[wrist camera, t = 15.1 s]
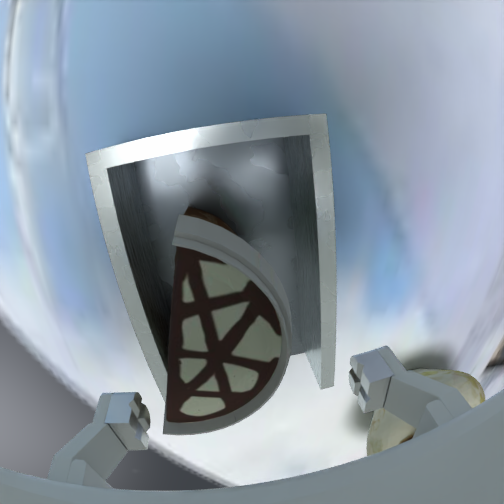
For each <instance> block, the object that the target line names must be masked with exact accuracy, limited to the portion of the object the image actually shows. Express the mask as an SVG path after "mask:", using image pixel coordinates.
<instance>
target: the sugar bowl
mask: <svg viewBox="0 0 504 504" xmlns="http://www.w3.org/2000/svg"><path fill="white" fill-rule="evenodd" d="M412 371H413V372H416V373H418V374H421V375H423V376H426V377H428V378H431V379H433V380H436V381H438V382H441V383H443V384H446V385H448V386H451V387H454V388H456V389H458V391H459V392H460V393H461V394H462V396H463V397H464V398H465V400H466V401H467V402H468V403H469V405H470V406H471V407H472V408H474V407H476V406H477V405H479V404H481V403H482V402H484V401H485V394H484V391H483V389H482V387H481V385H480V383H479V382H478V381H477V380H476V379H475V378H474V377H472V376H471V375H469V374H467V373H464V372H460V371H454V370H436V369H422V368H420V369H414V370H412ZM415 431H416V428H414V427H413V426H411V425H409V424H408V423H406V422H404V421H403V420H401V419H400V418H398V417H396V416H395V415H393V414H392V413H390V412H388V411H387V410H385V409H384V408H381V409H377V410H374V414H373V417H372V421H371V424H370V427H369V433H368V438H367V456H369V455H372V454H375V453H378V452H381V451H383V450H386V449H388V448H391V447H394V446H396V445H399V444H401V443H403V442H406V441H408V440H410V439H412V438H413V436H414V434H415Z"/></svg>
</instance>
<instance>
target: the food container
mask: <svg viewBox="0 0 504 504" xmlns="http://www.w3.org/2000/svg"><path fill="white" fill-rule="evenodd" d="M172 245H175V246H176V254H175V259H174V260H175V270H174V276H173V278H174V281H173V291H172V303H171V316H170V333H169V344H168V369H167V393H166V403H165V414H164V426H163V434H167V435H195V434H202V433H208V432H212V431H216V430H220V429H223V428H226V427H228V426H231V425H234V424H236V423H238V422H240V421H242V420H244V419H245V418H247V417H249V416H250V415H252V414H253V413H254V412H256V411H257V410H258V409H260V408H261V407H262V406H263V405H264V404H265V403H266V402H267V401H268V400H269V399H270V398H271V397H272V395H273V394H274V393H275V391H276V390H277V388H278V387H279V385H280V383H281V381H282V379H283V376H284V374H285V371H286V368H287V365H288V362H289V358H290V354H291V348H292V323H291V312H290V307H289V301H288V298H287V295H286V293H285V290H284V288H283V285H282V283H281V281H280V279H279V278H278V276H277V275H276V273H275V271H274V270H273V268H272V267H271V266H270V264H269V263H268V262H267V261H266V260H265V259H264V258H263V257H262V255H261V254H260V253H259V252H258V251H257V250H255V249H254V248H253V247H252V246H250V245H249V244H248V243H247V242H246V241H244V240H243V239H242V238H240V237H238V235H237V234H236V232H235V231H234V230H233V229H232V228H231V227H230V226H229V225H228V224H227V223H225V222H224V221H223V220H222V219H220V218H218V217H217V216H215V215H213V214H211V213H209V212H206V211H204V210H201V209H197V208H193V207H187V209H186V211H185V213H184V215H181V214H179V217H178V220H177V224H176V228H175V233H174V238H173V241H172Z"/></svg>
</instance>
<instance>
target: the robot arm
mask: <svg viewBox="0 0 504 504" xmlns="http://www.w3.org/2000/svg"><path fill="white" fill-rule="evenodd" d="M350 365H351V366H352V369H351V370H350V371H349V383H350V386H351V389H352V391H353V393H354V394H355V395H357V396H358V403H359V405H360V407H361V409H362V411H363V413H368V412H371V411H374V410H377V409H381V408H384V409H385V410H387V411H388V412H390V413H392V414H393V415H395V416H396V417H398V418H400V419H401V420H403V421H404V422H406V423H408V424H409V425H411V426H413V427H414V428H416V431H415V434H414V436H413V438H412V439H410V440H408V441H406V442H403V443H401V444H399V445H396V446H394V447H391V448H388V449H386V450H383V451H381V452H378V453H375V454H372V455H369V456H367V457H364V458H361V459H358V460H355V461H351V462H348V463H345V464H342V465H338V466H335V467H331V468H328V469H324V470H320V471H316V472H312V473H308V474H304V475H300V476H295V477H290V478H285V479H280V480H275V481H270V482H264V483H258V484H251V485H244V486H236V487H227V488H217V489H205V490H186V491H140V490H122V489H113V488H112V487H111V486H110V485H109V484H108V483H107V482H106V480H107V479H108V477H109V476H110V474H111V473H112V472H113V470H114V469H115V468H116V467H117V465H118V464H119V462H120V461H121V460H122V458H123V457H124V456H125V455H126V453H127V452H128V451H127V450H147V448H148V439H149V436H148V434H147V433H146V431H147V430H148V429H149V428H150V414H149V411H148V409H147V407H146V405H144V404H142V403H141V401H142V398H141V396H140V394H139V393H138V392H123V393H102V394H101V396H100V399H99V402H98V405H97V409H96V412H95V415H94V419H93V423H89V424H88V425H87V426H86V427H85V428H84V429H82V430H81V431H80V432H79V433H78V434H77V435H76V436H75V437H74V438H73V439H72V440H70V441H69V442H68V443H67V444H66V445H65V446H64V447H63V448H62V449H61V450H60V451H58V452H57V453H56V454H55V455H54V457H53V460H52V464H51V467H50V471H49V474H48V478H47V479H44V478H39V477H35V476H31V475H27V474H23V473H20V472H15V471H12V470H9V469H6V468H2V467H0V504H504V389H503V390H501V391H500V392H498V393H497V394H495V395H494V396H492V397H491V398H489V399H487V400H486V401H484V402H482V403H481V404H479V405H477V406H476V407H474V408H472V407H471V406H470V405H469V403H468V402H467V401H466V400H465V398H464V397H463V396H462V394H461V393H460V392H459V391H458V389H456V388H454V387H451V386H448V385H446V384H443V383H441V382H438V381H436V380H433V379H431V378H428V377H426V376H423V375H421V374H418V373H416V372H413V371H411V370H409V371H406V369H405V368H404V367H403V365H402V364H401V363H400V361H399V360H398V359H397V357H396V356H395V355H394V353H393V352H392V351H391V349H390V348H389V347H388V346H384V347H381V348H378V349H375V350H371V351H368V352H364V353H361V354H358V355H354V356H352V357H351V359H350Z"/></svg>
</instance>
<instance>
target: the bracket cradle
mask: <svg viewBox="0 0 504 504" xmlns="http://www.w3.org/2000/svg"><path fill="white" fill-rule="evenodd" d="M85 155H86V160H87V166H88V171H89V176H90V181H91V185H92V190H93V195H94V199H95V203H96V208H97V212H98V216H99V220H100V224H101V228H102V231H103V235H104V239H105V243H106V246H107V250H108V253H109V257H110V260H111V263H112V267H113V270H114V273H115V276H116V279H117V282H118V285H119V289H120V292H121V295H122V297H123V300H124V303H125V306H126V309H127V312H128V315H129V317H130V320H131V323H132V325H133V328H134V331H135V333H136V336H137V338H138V341H139V344H140V346H141V349H142V351H143V353H144V356H145V358H146V361H147V363H148V365H149V368H150V370H151V372H152V375H153V377H154V379H155V381H156V384H157V386H158V388H159V390H160V392H161V395H162V397H163V399H164V401H165V403H166V393H167V369H168V344H169V333H170V316H171V303H172V291H173V281H174V278H173V276H174V270H175V260H174V259H175V254H176V246H175V245H172V241H173V238H174V233H175V228H176V224H177V220H178V217H179V214H181V215H184V213H185V211H186V209H187V207H193V208H197V209H201V210H204V211H206V212H209V213H211V214H213V215H215V216H217V217H218V218H220V219H222V220H223V221H224V222H225V223H227V224H228V225H229V226H230V227H231V228H232V229H233V230H234V231H235V232H236V234H237V235H238V237H240V238H242V239H243V240H244V241H246V242H247V243H248V244H249V245H250V246H252V247H253V248H254V249H255V250H257V251H258V252H259V253H260V254H261V255H262V257H263V258H264V259H265V260H266V261H267V262H268V263H269V264H270V266H271V267H272V268H273V270H274V271H275V273H276V275H277V276H278V278H279V279H280V281H281V283H282V285H283V288H284V290H285V293H286V295H287V298H288V301H289V307H290V312H291V323H292V348H291V354H290V356H291V355H295V354H300V353H304V352H305V354H306V356H307V358H308V361H309V363H310V365H311V368H312V370H313V372H314V375H315V377H316V379H317V382H318V384H319V387H320V389H325V388H329V387H332V386H334V372H335V349H336V237H335V214H334V196H333V181H332V168H331V156H330V145H329V135H328V125H327V116H326V114H311V115H296V116H284V117H273V118H263V119H254V120H246V121H238V122H231V123H224V124H217V125H211V126H205V127H199V128H193V129H187V130H182V131H177V132H172V133H167V134H162V135H157V136H152V137H148V138H143V139H139V140H135V141H131V142H127V143H123V144H119V145H115V146H111V147H107V148H104V149H100V150H96V151H93V152H89V153H86V154H85Z"/></svg>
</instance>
